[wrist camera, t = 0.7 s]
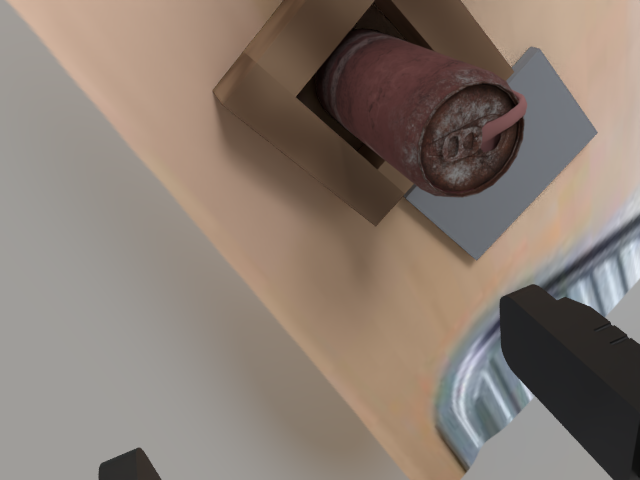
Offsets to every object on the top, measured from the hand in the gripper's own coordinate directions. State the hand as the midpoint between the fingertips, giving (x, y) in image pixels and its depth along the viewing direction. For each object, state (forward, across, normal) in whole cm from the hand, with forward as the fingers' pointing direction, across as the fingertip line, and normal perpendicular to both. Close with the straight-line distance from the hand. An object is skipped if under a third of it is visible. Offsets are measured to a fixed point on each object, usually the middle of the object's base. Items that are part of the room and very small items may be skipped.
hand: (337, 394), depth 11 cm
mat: (+26, -21, +12) cm, 36 cm away
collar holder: (+26, -11, +2) cm, 28 cm away
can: (+26, -11, +2) cm, 29 cm away
